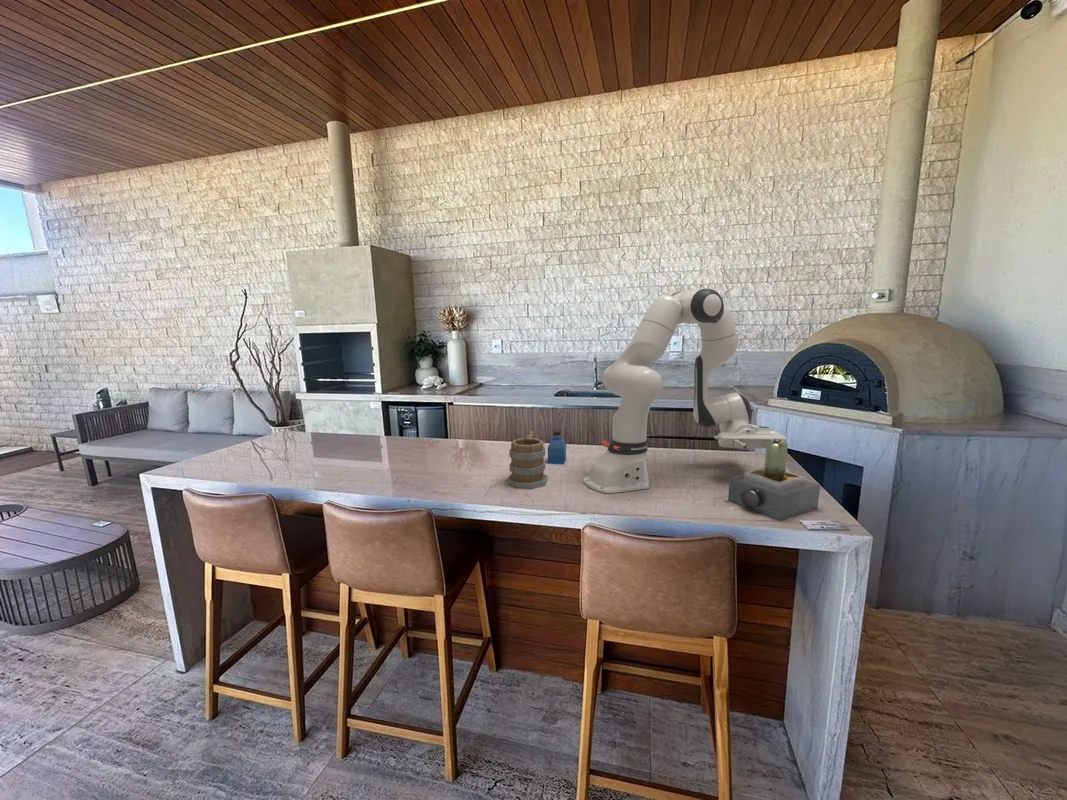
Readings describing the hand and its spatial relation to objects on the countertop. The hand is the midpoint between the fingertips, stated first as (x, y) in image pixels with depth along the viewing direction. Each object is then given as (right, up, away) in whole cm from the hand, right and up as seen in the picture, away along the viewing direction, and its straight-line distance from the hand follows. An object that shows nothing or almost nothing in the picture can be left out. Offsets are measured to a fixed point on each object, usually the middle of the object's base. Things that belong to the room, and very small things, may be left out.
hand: (760, 447), depth 135 cm
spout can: (-1, -8, -10) cm, 13 cm away
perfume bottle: (-61, -10, +34) cm, 71 cm away
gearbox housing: (-1, -16, -9) cm, 18 cm away
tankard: (-71, -13, +15) cm, 74 cm away
